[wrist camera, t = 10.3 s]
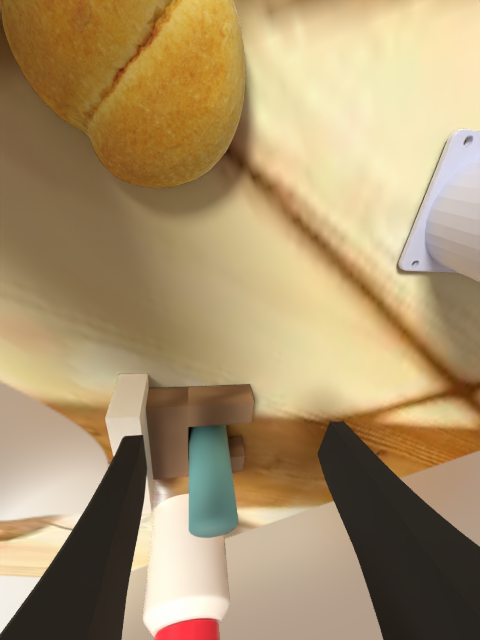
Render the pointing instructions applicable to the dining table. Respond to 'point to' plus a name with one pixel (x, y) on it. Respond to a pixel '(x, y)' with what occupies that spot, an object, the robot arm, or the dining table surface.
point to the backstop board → (131, 422)
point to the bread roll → (137, 78)
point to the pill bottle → (184, 577)
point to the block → (193, 423)
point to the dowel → (210, 483)
